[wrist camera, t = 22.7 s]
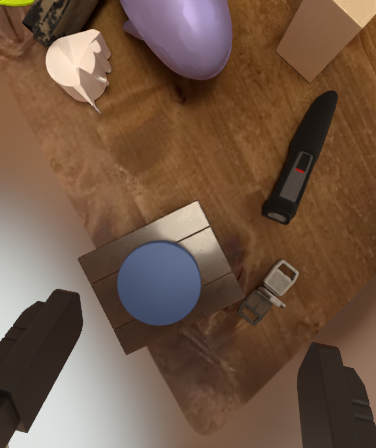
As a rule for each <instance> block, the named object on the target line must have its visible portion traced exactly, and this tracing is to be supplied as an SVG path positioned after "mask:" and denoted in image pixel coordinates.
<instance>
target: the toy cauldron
mask: <svg viewBox="0 0 376 448" xmlns="http://www.w3.org/2000/svg"><path fill="white" fill-rule="evenodd" d="M33 2H34V0H0V5H5V6H13V7H17V6H28V5H31V4H32V3H33Z"/></svg>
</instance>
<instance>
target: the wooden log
mask: <svg viewBox="0 0 376 448" xmlns="http://www.w3.org/2000/svg"><path fill="white" fill-rule="evenodd" d="M98 2H99V0H34V2H33V3H32V5H31V7H30V9H29V11H28V13H27V14H26V16H25V18H24V20H23V22H22V23H23V24H24V25H25V26H26V27H27V28H28V29H29V30H30V31H31V32H32V33H34V39H35V40H37V41H38V42H40V43H41V44H42V45H43V46H45V47H47V46H51V45H52V44H53V42H55V41H56V40H57V39H59V38H62V37H66V36H69V35H73V34H77V33H80V31H81V29H82V28H83V26H84V24H85V23H86V21H87V20H88V18H89V16H90V15H91V13H92V12H93V10H94V8H95V7H96V5H97V4H98Z"/></svg>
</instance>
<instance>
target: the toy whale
mask: <svg viewBox="0 0 376 448" xmlns="http://www.w3.org/2000/svg"><path fill="white" fill-rule="evenodd" d="M120 3H121V5H122V7H123V9H124V11H125V13H126V14H127V16H128V18H129V20H128V21H126V22H125V23H124V24H123V27H122V29H123V30H124V31H126V32H127V33H129V34H131V35H133V36H134V37H136V38H138V39H140V40H144V41H145V42H146V44H147V45H148V46H149V47H150V49H151V50H152V51H153V52H154V53H155V55H156V56H157V57H158V58H159V59H160V60H161V61H162V62H163V63H164V64H165V65H166V66H168V67H169V68H170V69H171V70H173V71H174V72H176V73H177V74H179V75H181V76H184V77H187V78H191V79H195V80H207V79H210V78H213V77H215V76H216V75H218V74H219V73H220V72H221V71H222V69H223V68H224V67H225V65H226V63H227V61H228V58H229V55H230V52H231V46H232V23H231V17H230V13H229V8H228V4H227V0H120Z"/></svg>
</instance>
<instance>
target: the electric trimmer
mask: <svg viewBox="0 0 376 448" xmlns="http://www.w3.org/2000/svg"><path fill="white" fill-rule="evenodd" d="M337 99H338V95H337V93H336V92H335V91H327V92H325V93H323V94H322V95H320V96H318V97H317V98H316V100H315V101H314V103H313V104H312V106H311V108H310V109H309V111H308V113H307V115H306V117H305V118H304V120H303V122H302V124H301V126H300V127H299V129H298V131H297V133H296V135H295V136H294V138H293V140H292V142H291V144H290V154H289V158H288V161H287V163H286V165H285V168H284V170H283V172H282V175H281V177H280V179H279V182H278V184H277V186H276V188H275V190H274V192H273V194H272V196H271V197H270V198H269V199H268V200H267V201H266V203H265V204H264V206H263V210H264V211H263V214H262V215H263V216H264V217H267V218H269V219H272V220H274V221H276V222H278V223H281V224H284V225H287V224H289V222H290V220H291V219H292V218H293V217H294V216H295V214H296V212H297V209H298V206H299V203H300V201H301V198H302V196H303V193H304V191H305V188H306V185H307V182H308V180H309V177H310V174H311V172H312V169H313V167H314V165H315V162H316V161H317V159H318V157H319V154H320V152H321V149H322V146H323V144H324V141H325V138H326V135H327V132H328V129H329V126H330V123H331V120H332V117H333V114H334V111H335V108H336V104H337Z"/></svg>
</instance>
